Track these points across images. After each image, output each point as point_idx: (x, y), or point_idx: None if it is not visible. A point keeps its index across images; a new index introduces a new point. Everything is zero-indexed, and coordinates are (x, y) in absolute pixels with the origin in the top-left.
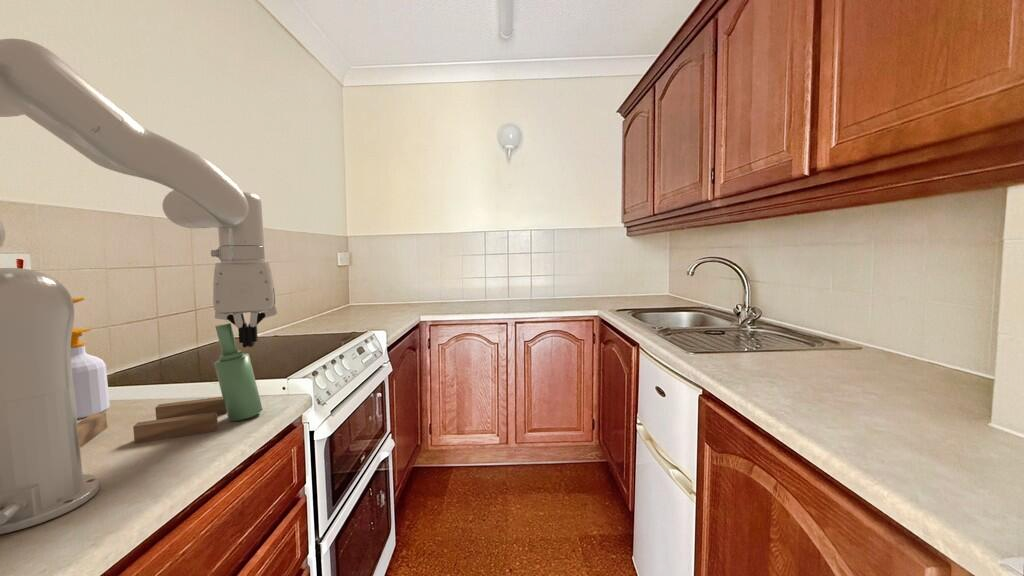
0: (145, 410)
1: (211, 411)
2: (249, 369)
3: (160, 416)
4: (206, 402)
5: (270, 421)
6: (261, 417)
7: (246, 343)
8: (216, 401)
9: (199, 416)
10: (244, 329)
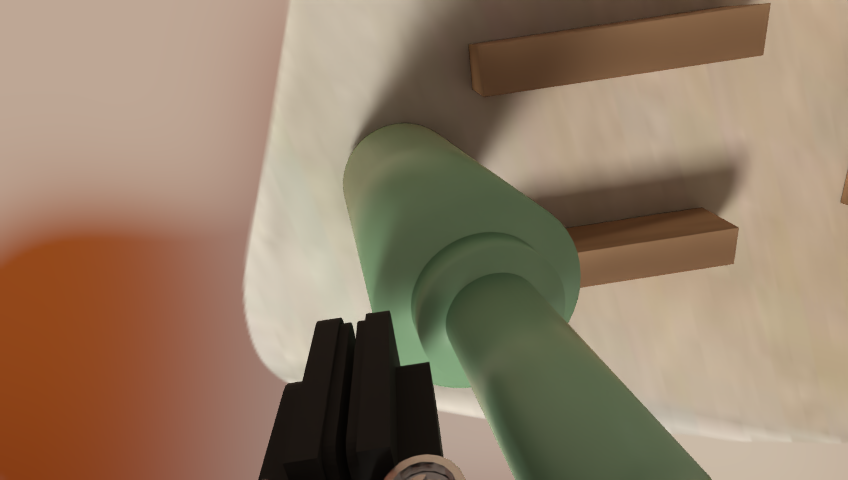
0: (761, 332)
1: None
2: (364, 242)
3: (701, 215)
4: None
5: (280, 93)
6: (336, 152)
7: (358, 333)
8: None
9: (539, 52)
10: (357, 434)
